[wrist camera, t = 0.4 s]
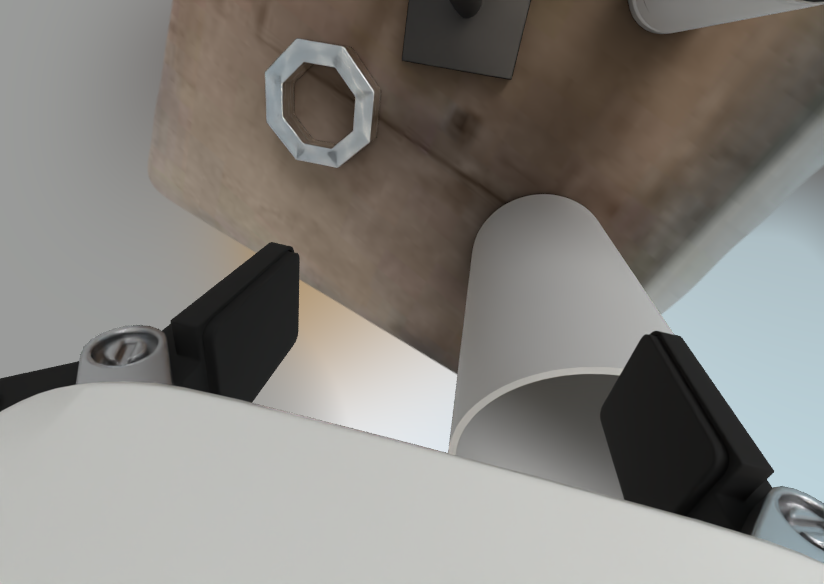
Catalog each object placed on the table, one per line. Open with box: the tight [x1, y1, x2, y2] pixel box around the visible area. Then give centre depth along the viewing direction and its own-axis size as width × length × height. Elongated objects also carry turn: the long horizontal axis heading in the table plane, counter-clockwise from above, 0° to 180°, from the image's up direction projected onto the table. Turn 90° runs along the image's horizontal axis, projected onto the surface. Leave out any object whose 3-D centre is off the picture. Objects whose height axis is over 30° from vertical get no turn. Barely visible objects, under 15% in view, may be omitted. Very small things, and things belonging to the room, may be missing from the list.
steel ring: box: [265, 38, 381, 168], centre depth 35 cm, size 10×10×2 cm
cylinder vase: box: [448, 194, 674, 500], centre depth 29 cm, size 12×12×25 cm
